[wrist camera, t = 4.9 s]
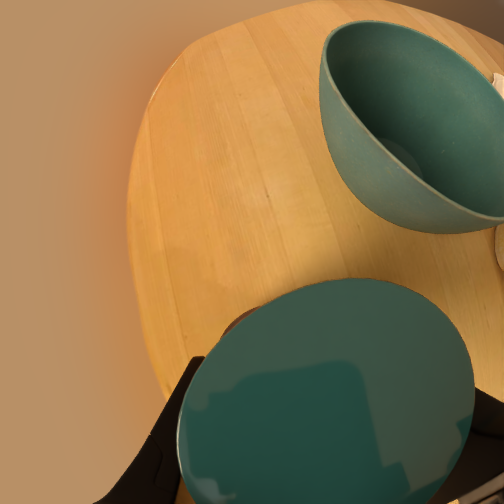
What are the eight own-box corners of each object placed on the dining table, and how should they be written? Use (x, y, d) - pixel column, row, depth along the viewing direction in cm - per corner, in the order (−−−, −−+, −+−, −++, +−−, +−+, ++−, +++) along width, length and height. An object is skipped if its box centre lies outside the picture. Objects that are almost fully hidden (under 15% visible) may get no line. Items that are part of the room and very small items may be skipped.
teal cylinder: (332, 427, 13) (437, 525, 3) (216, 421, 13) (173, 547, 3) (344, 317, 14) (484, 286, 5) (228, 307, 14) (193, 259, 5)
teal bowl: (372, 308, 22) (472, 284, 11) (256, 141, 26) (264, 34, 14) (477, 213, 25) (550, 164, 13) (382, 92, 29) (420, 18, 17)
